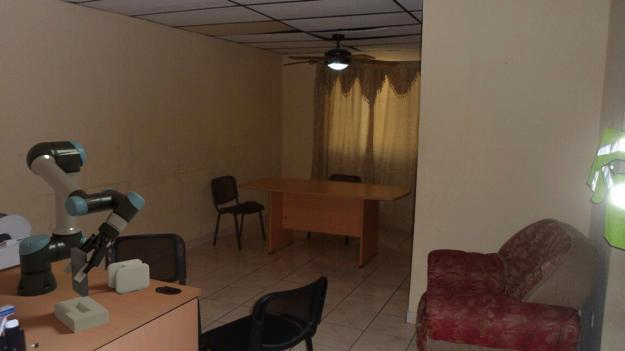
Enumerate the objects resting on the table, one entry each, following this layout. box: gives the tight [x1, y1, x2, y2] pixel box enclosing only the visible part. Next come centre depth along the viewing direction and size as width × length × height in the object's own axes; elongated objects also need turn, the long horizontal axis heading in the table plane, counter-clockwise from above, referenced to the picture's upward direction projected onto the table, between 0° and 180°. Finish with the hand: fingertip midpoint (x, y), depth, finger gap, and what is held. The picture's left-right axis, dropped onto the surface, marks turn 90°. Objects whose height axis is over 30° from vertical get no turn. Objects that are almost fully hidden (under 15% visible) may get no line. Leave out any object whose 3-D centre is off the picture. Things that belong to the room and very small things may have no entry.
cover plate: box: [70, 247, 90, 297], centre depth 172 cm, size 10×2×16 cm, turn 47°
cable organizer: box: [106, 258, 150, 295], centre depth 207 cm, size 15×11×12 cm
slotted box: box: [53, 295, 110, 334], centre depth 174 cm, size 20×12×6 cm, turn 47°
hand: (70, 276), depth 170 cm, fingers closed on cover plate, 10 cm apart
